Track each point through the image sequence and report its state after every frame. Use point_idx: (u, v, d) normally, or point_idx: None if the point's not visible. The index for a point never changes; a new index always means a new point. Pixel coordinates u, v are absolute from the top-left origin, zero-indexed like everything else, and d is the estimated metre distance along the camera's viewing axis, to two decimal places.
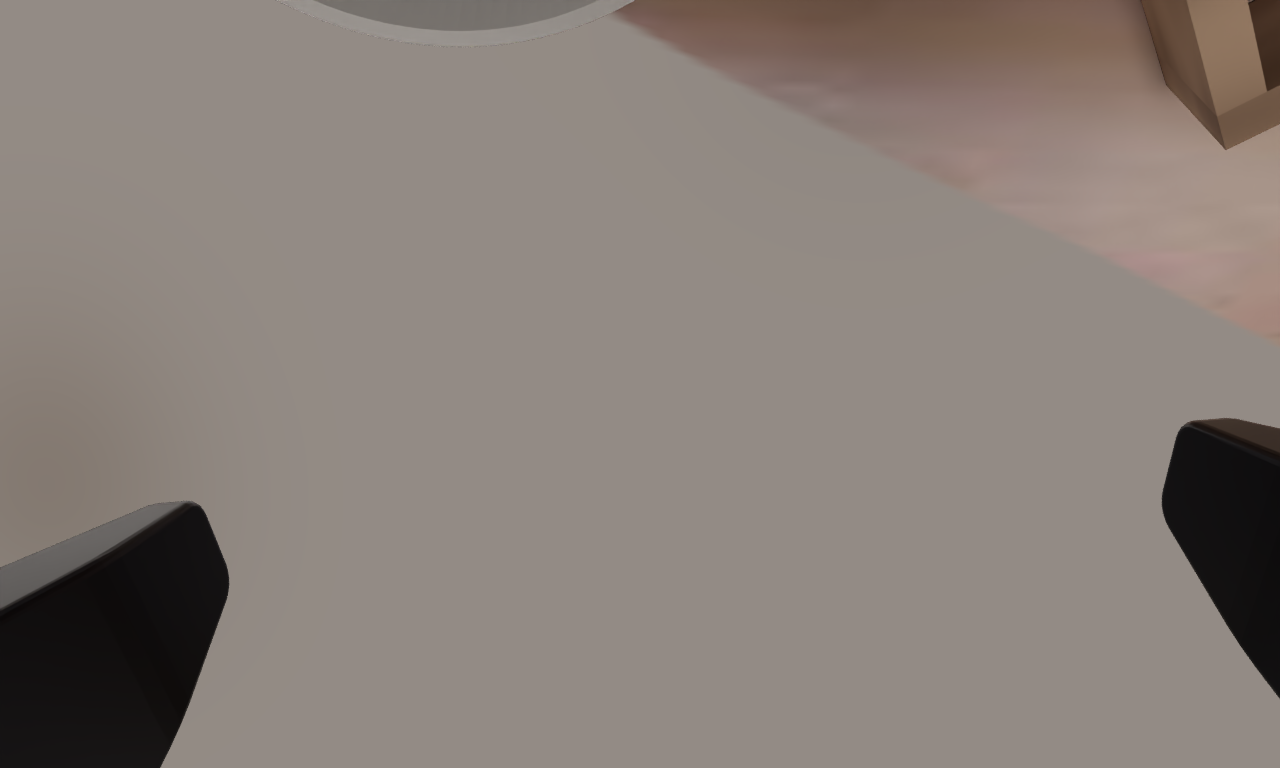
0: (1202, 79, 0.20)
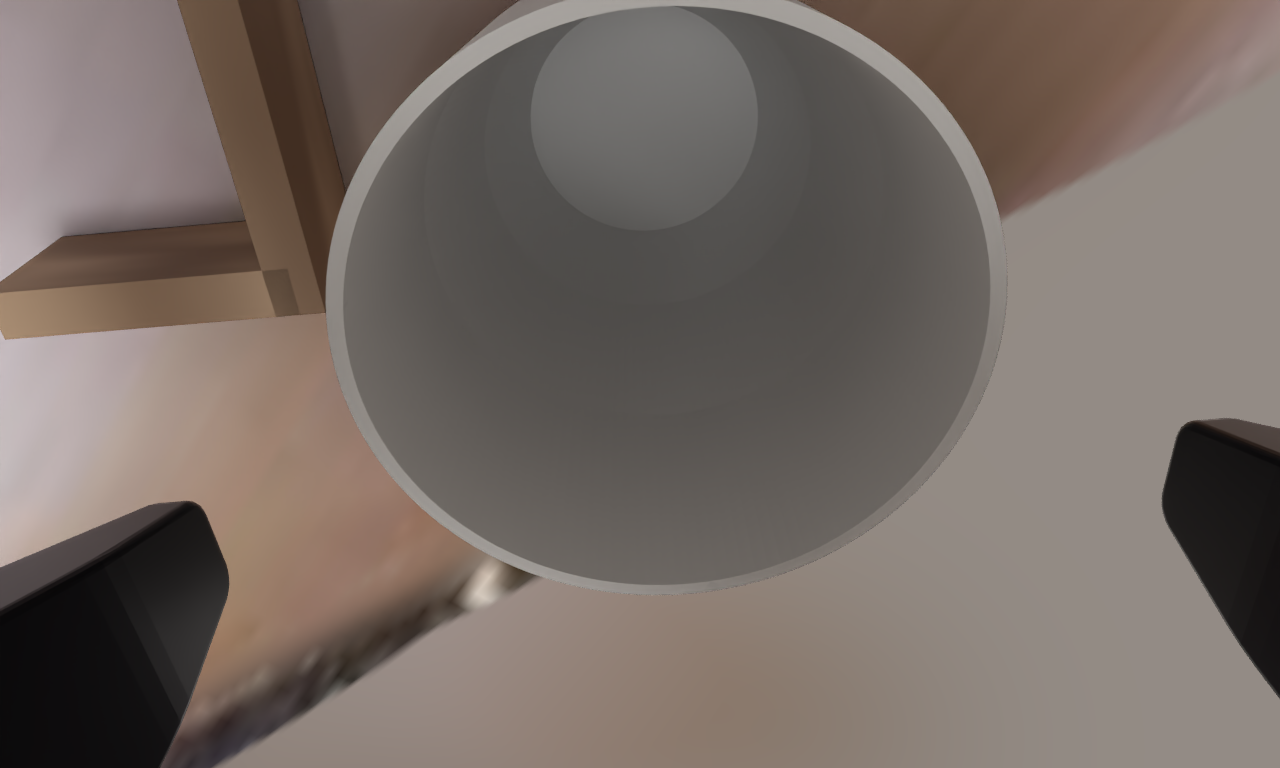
0: None
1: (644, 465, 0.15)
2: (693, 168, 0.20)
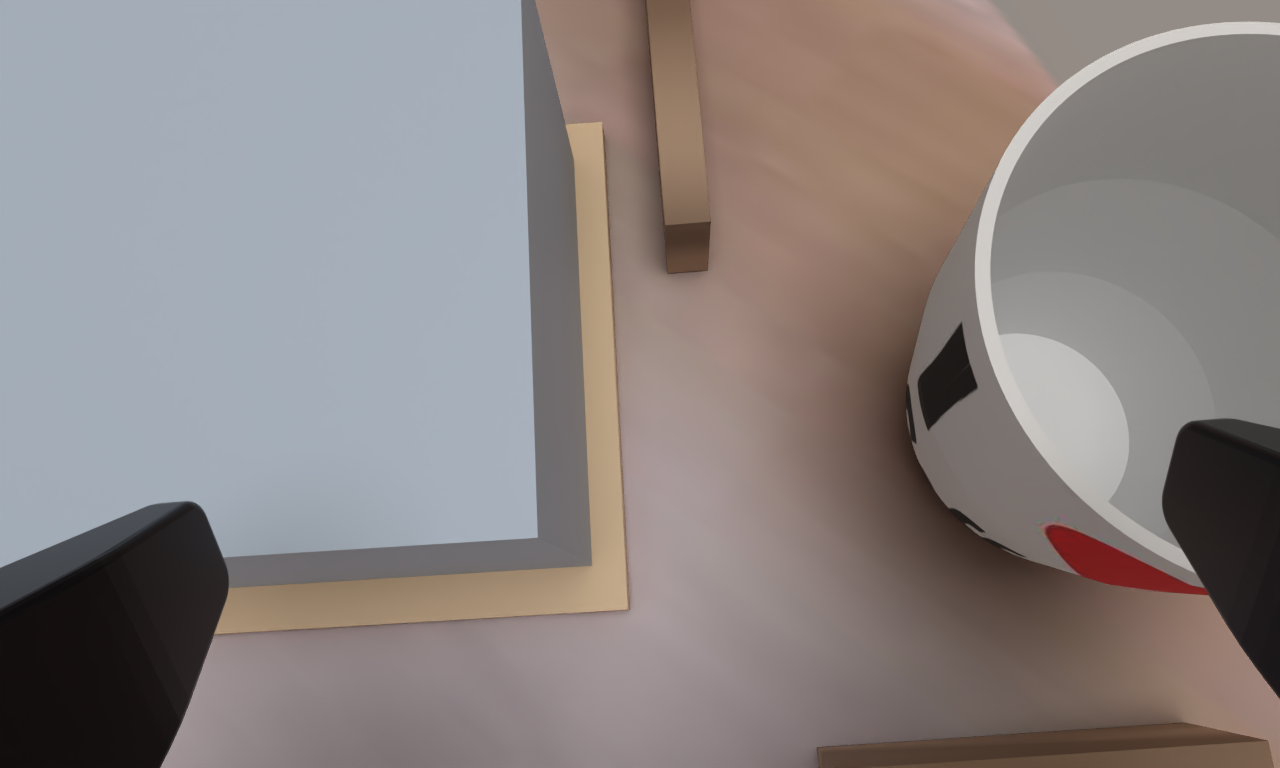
0: None
1: None
2: (1062, 387, 0.22)
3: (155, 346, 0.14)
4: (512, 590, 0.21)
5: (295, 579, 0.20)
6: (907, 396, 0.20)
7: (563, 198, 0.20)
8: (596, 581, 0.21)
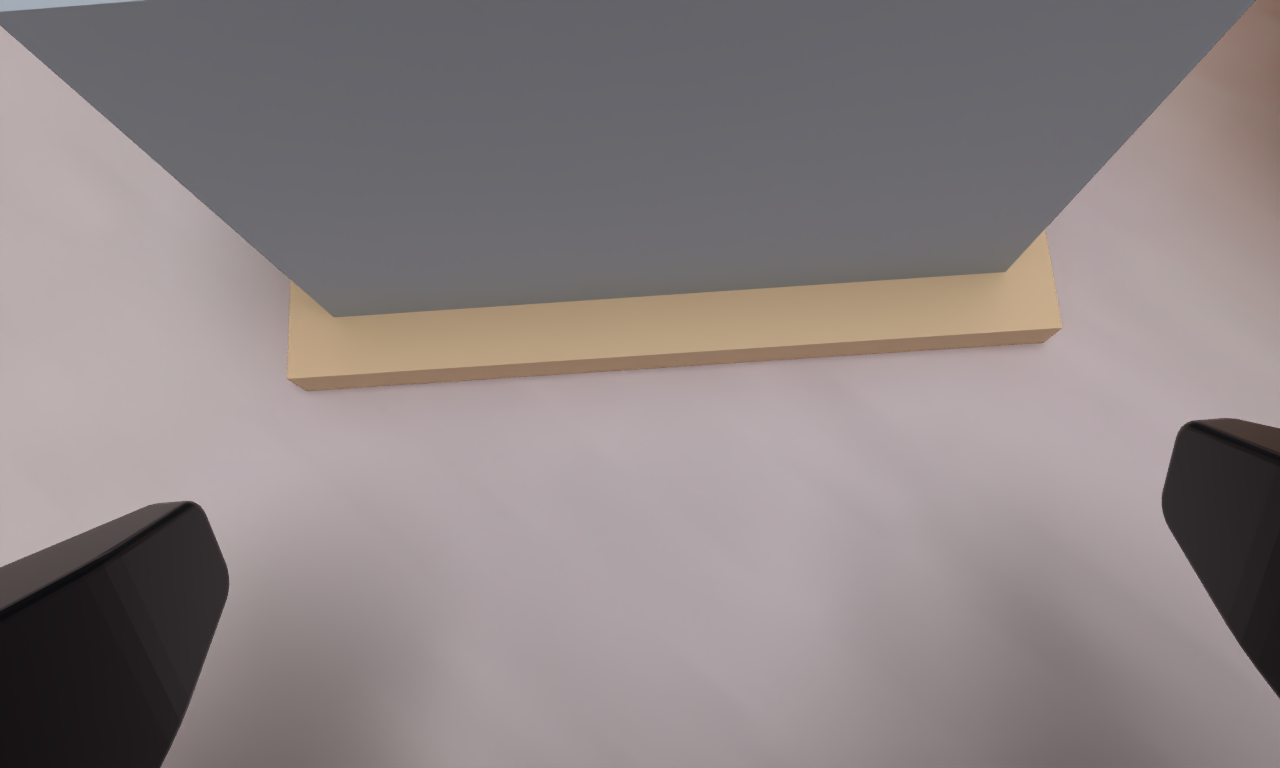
0: None
1: None
2: None
3: None
4: (896, 304, 0.15)
5: (626, 257, 0.14)
6: None
7: None
8: (1013, 292, 0.15)
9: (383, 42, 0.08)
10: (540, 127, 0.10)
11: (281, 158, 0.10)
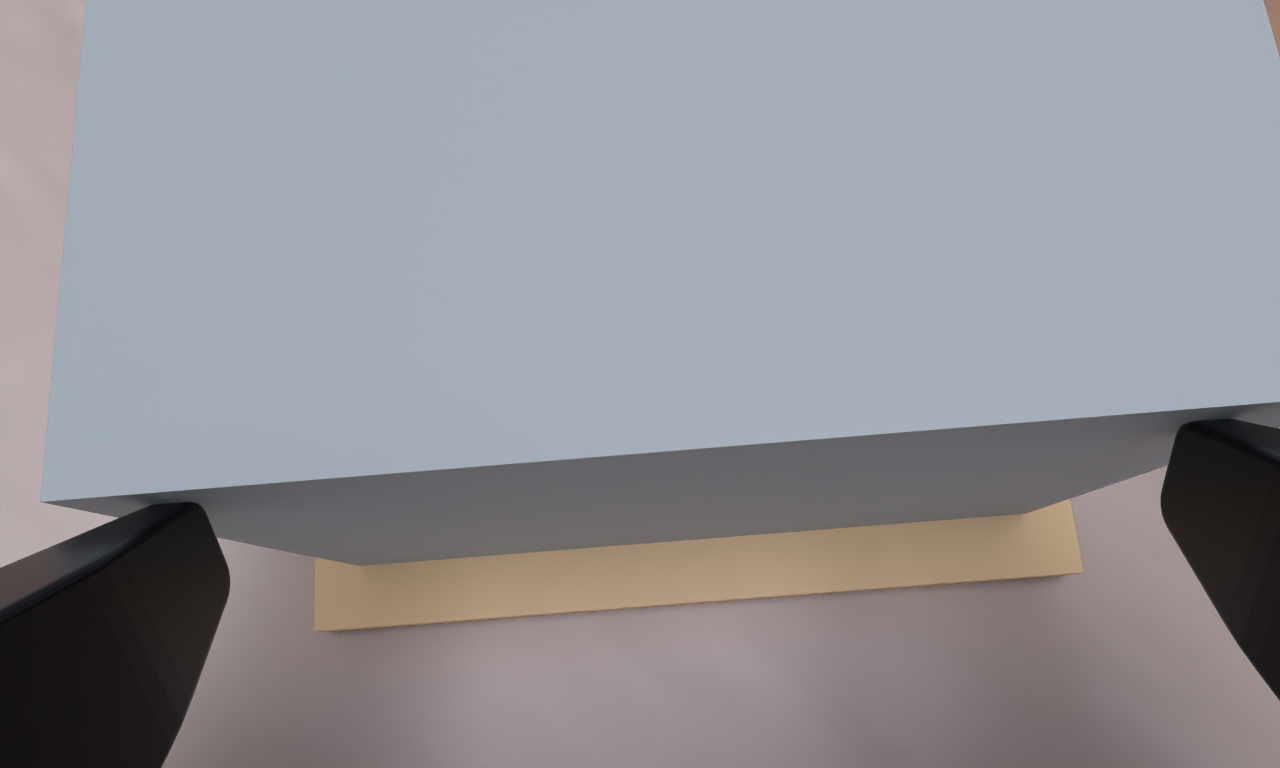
0: None
1: None
2: None
3: (637, 102, 0.09)
4: (918, 548, 0.15)
5: (652, 532, 0.14)
6: None
7: None
8: (1034, 535, 0.15)
9: (429, 487, 0.09)
10: (577, 500, 0.10)
11: (319, 524, 0.10)
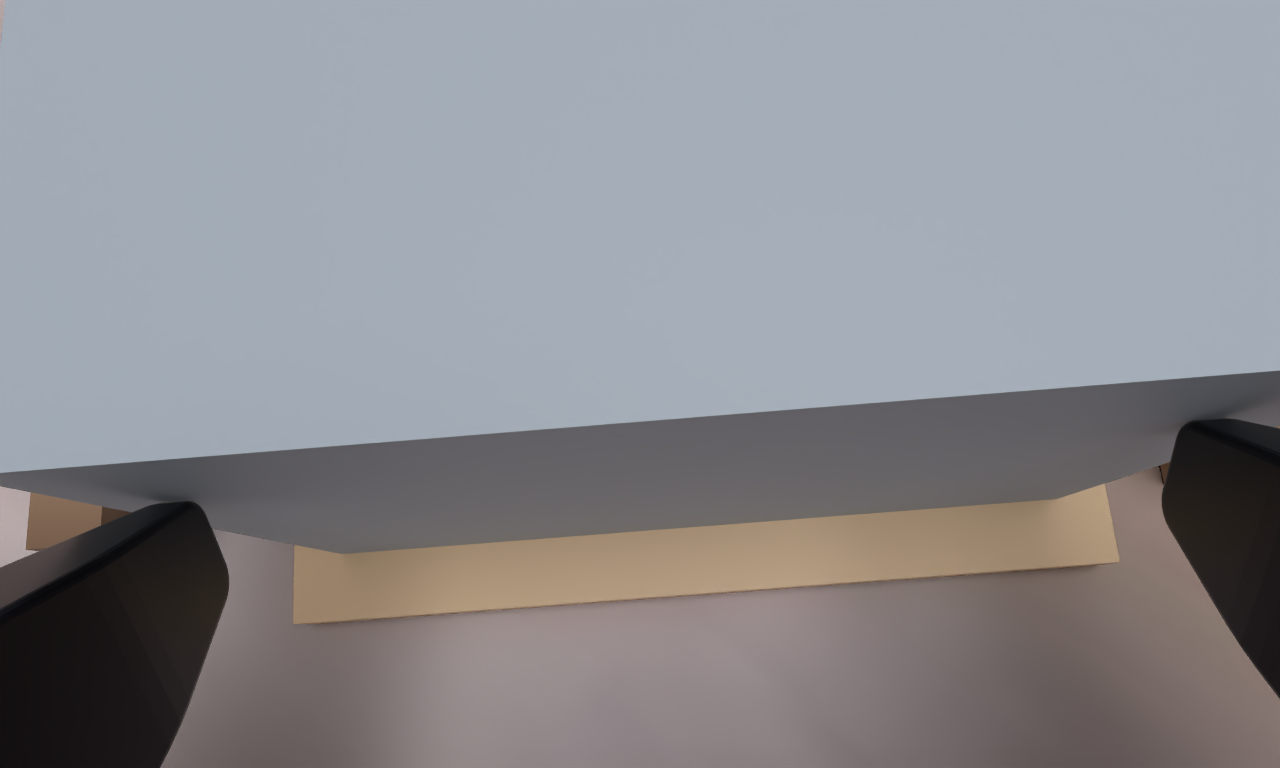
0: None
1: None
2: None
3: (642, 20, 0.07)
4: (941, 537, 0.14)
5: (656, 517, 0.13)
6: None
7: None
8: (1066, 521, 0.14)
9: (404, 461, 0.07)
10: (574, 481, 0.09)
11: (288, 506, 0.09)
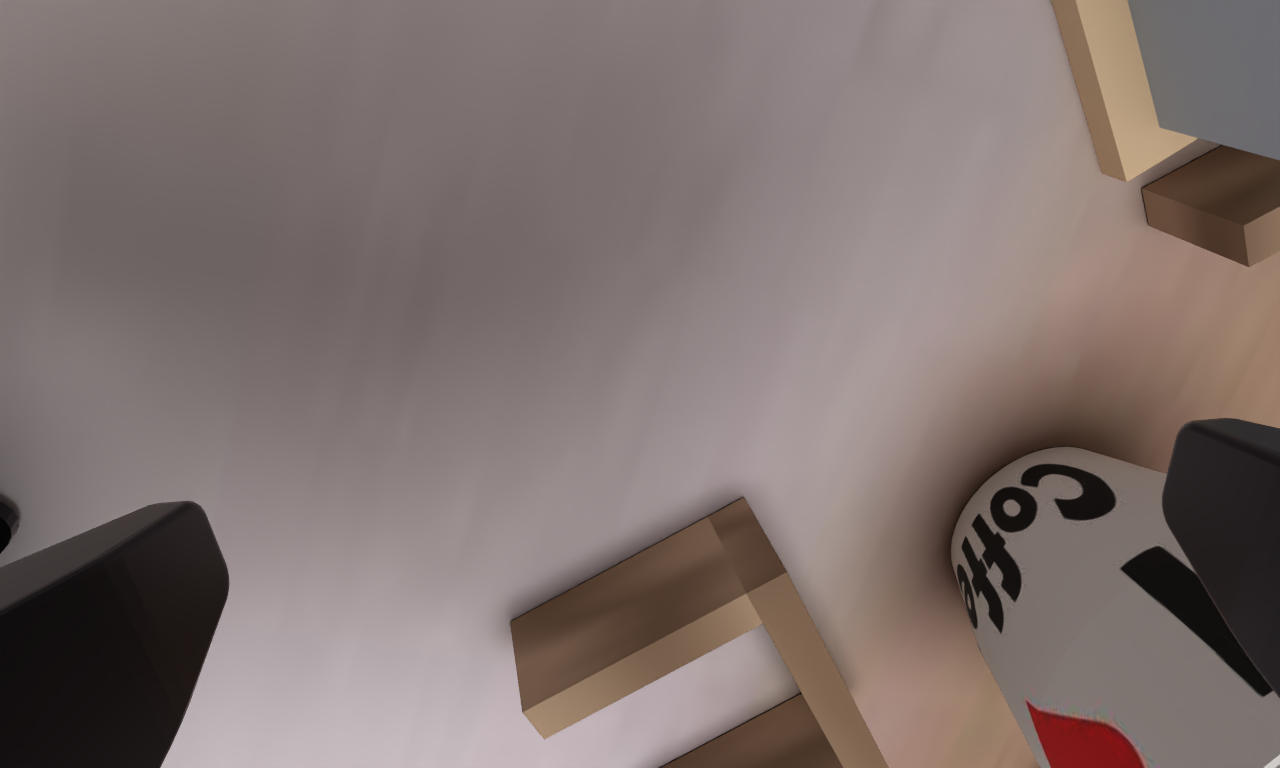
0: None
1: None
2: None
3: None
4: (1121, 62, 0.19)
5: None
6: (1097, 490, 0.21)
7: None
8: (1146, 139, 0.20)
9: None
10: None
11: None
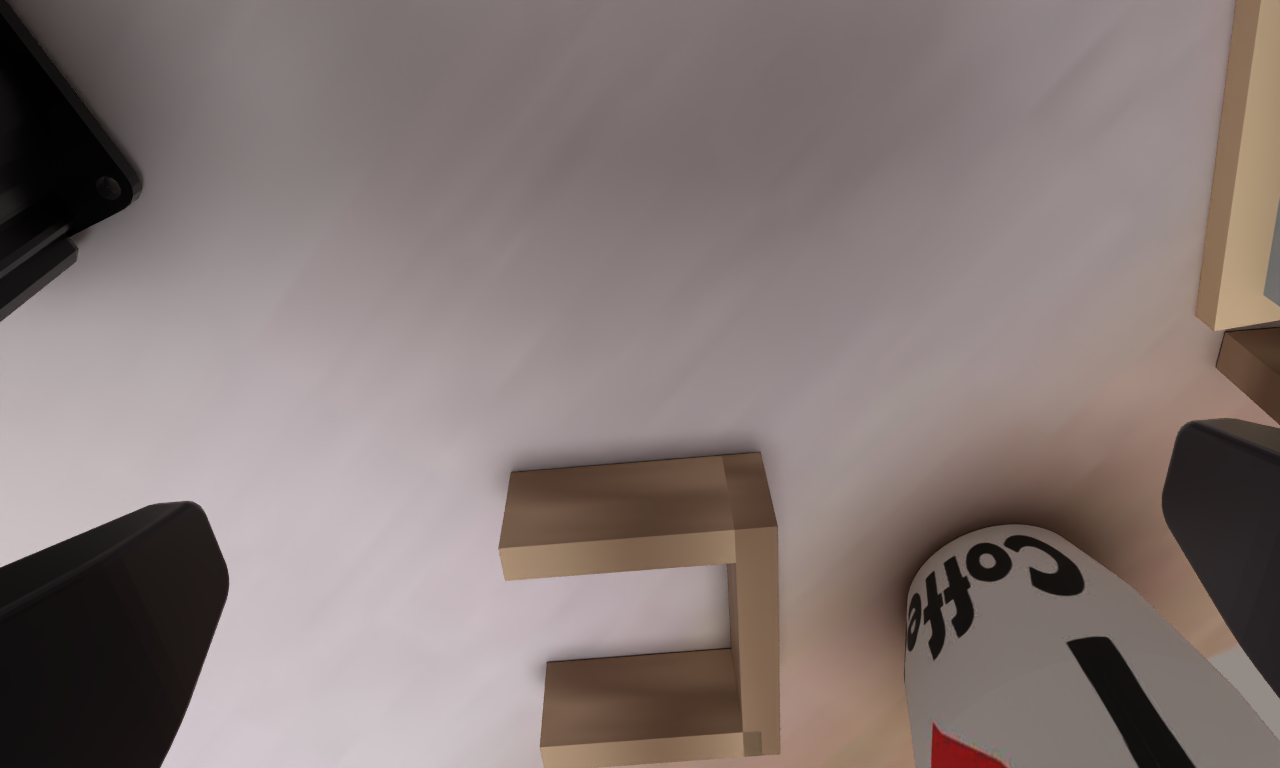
0: None
1: None
2: None
3: None
4: (1255, 223, 0.21)
5: None
6: (1071, 574, 0.23)
7: None
8: (1246, 300, 0.21)
9: None
10: None
11: None
